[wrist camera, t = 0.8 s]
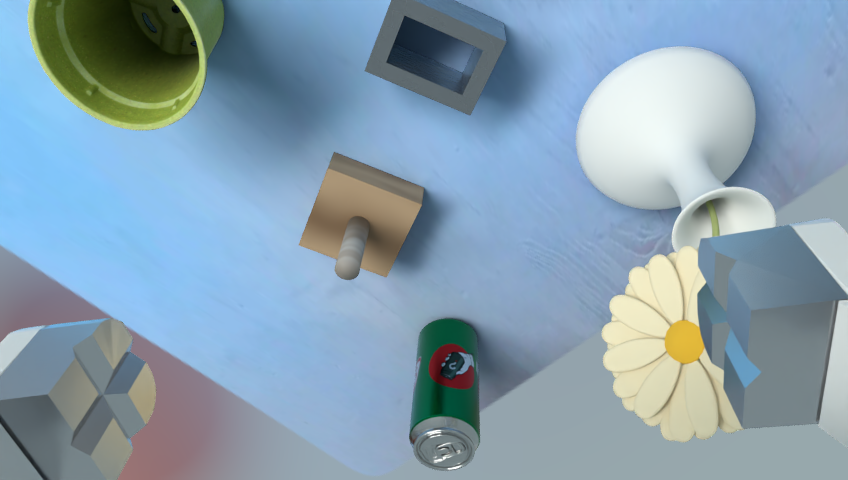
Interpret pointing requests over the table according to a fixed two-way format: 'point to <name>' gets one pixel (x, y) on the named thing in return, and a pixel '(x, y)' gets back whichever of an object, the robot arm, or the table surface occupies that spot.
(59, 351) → the robot arm
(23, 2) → the table surface
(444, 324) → the soda can
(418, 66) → the grey hollow rectangular block
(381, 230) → the block
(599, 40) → the table surface
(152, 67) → the plant pot
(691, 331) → the flower in vase
